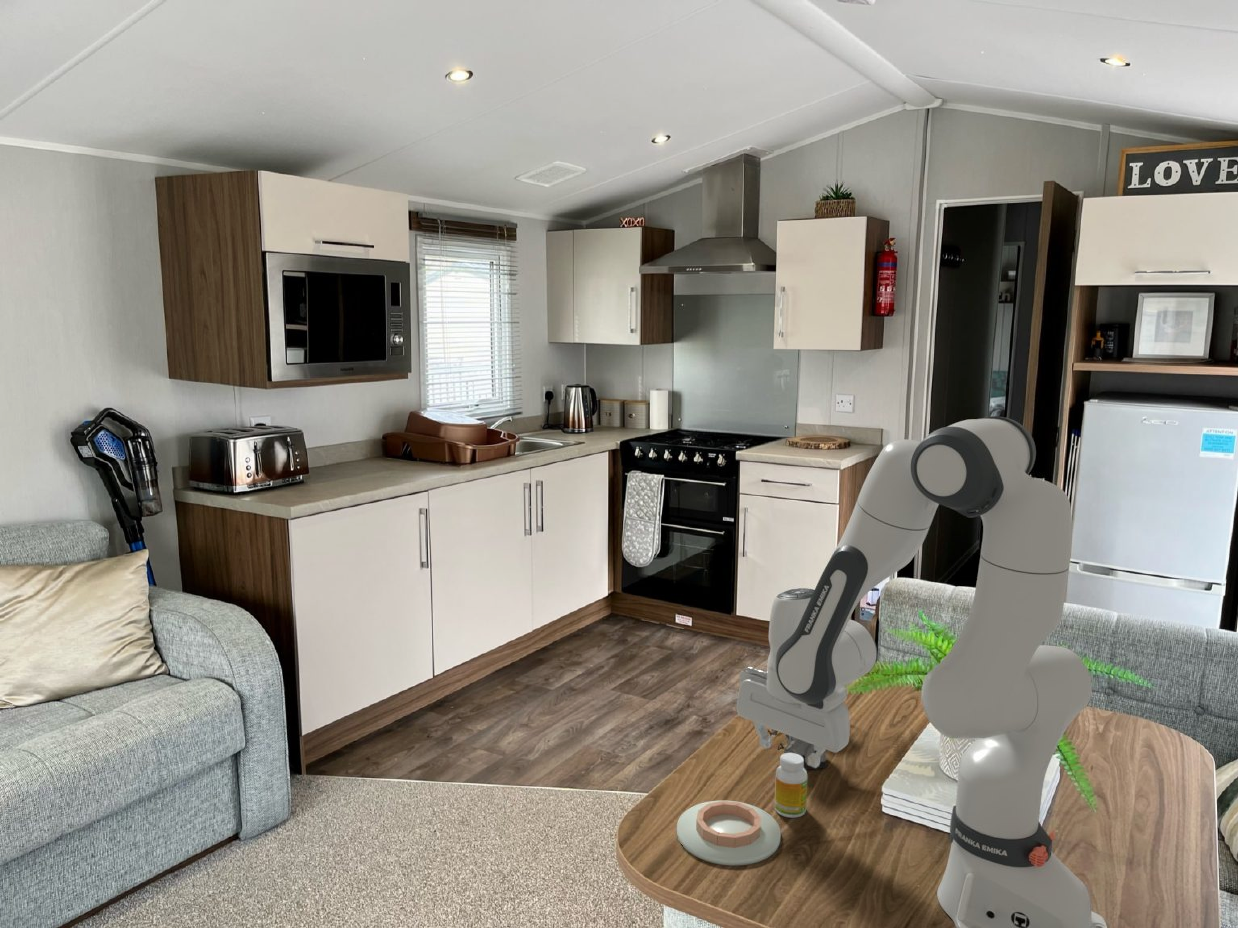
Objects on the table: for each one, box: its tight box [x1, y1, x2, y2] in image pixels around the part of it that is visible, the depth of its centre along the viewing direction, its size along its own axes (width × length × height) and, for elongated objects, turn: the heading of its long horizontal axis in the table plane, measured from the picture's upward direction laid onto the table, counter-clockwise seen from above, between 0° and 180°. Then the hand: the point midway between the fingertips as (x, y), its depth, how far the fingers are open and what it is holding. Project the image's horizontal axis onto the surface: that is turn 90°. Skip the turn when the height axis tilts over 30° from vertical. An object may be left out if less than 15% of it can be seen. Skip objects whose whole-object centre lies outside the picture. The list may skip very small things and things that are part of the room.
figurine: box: [767, 729, 828, 772], centre depth 175 cm, size 9×12×15 cm
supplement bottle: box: [774, 752, 808, 819], centre depth 159 cm, size 5×5×10 cm
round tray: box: [676, 800, 782, 867], centre depth 152 cm, size 17×17×3 cm
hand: (789, 755), depth 158 cm, fingers open, 8 cm apart
